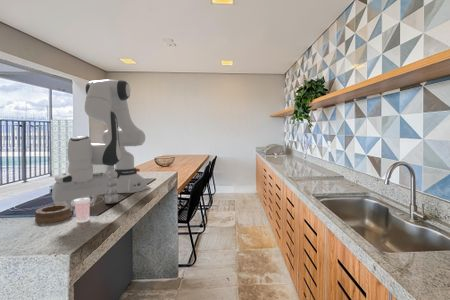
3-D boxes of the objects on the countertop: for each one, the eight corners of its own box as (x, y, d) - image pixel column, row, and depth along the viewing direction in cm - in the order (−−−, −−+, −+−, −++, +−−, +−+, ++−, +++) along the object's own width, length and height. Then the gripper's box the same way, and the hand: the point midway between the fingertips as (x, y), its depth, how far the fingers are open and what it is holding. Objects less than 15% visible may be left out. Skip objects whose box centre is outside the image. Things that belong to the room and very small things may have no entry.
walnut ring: (66, 211, 115) (65, 202, 114) (75, 217, 106) (74, 208, 106) (33, 218, 105) (32, 208, 105) (40, 225, 97) (39, 215, 97)
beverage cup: (75, 219, 104) (74, 186, 103) (92, 217, 106) (90, 185, 105) (72, 224, 98) (71, 190, 97) (90, 222, 101) (88, 188, 100)
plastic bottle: (113, 205, 123) (112, 166, 122) (101, 204, 125) (100, 165, 123) (121, 201, 130) (120, 164, 128) (109, 201, 131) (108, 164, 130)
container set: (65, 212, 113) (65, 200, 113) (54, 212, 113) (53, 201, 113) (86, 200, 133) (86, 190, 133) (76, 200, 133) (76, 190, 133)
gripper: (103, 171, 111) (104, 201, 112) (49, 177, 96) (51, 212, 97) (109, 173, 107) (110, 203, 108) (54, 179, 91) (56, 215, 92)
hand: (82, 207), depth 102 cm, fingers closed on beverage cup, 6 cm apart
